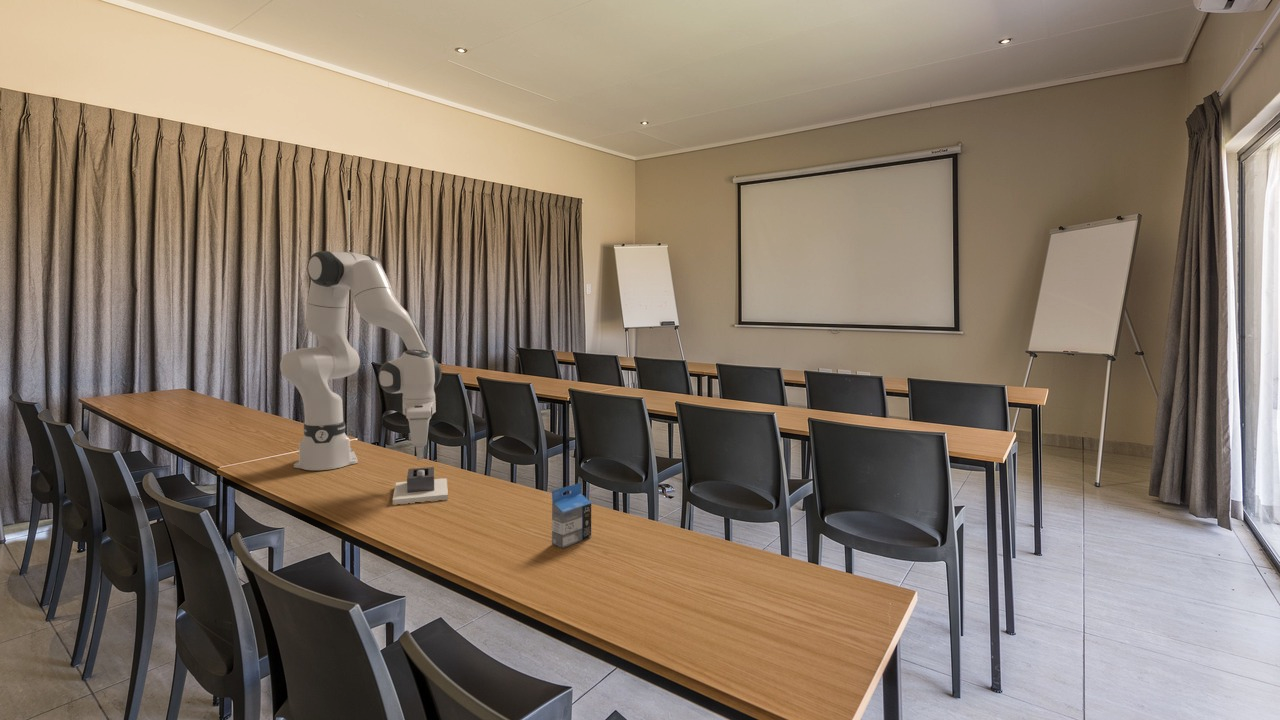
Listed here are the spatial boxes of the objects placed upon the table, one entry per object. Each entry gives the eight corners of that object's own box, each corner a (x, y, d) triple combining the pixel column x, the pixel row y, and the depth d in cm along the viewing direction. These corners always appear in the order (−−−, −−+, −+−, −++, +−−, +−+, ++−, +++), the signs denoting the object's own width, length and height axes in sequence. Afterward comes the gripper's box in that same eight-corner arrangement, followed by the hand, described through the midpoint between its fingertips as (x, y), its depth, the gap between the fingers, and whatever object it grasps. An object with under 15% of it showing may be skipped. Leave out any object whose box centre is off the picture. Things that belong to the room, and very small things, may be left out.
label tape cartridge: (562, 549, 133) (562, 494, 132) (551, 544, 135) (550, 491, 134) (592, 537, 139) (592, 485, 138) (580, 533, 142) (580, 482, 141)
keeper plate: (396, 487, 175) (395, 465, 175) (446, 483, 180) (446, 461, 179) (392, 505, 160) (392, 481, 160) (448, 499, 165) (447, 476, 164)
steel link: (408, 482, 175) (408, 468, 175) (434, 480, 177) (433, 466, 177) (407, 492, 166) (406, 478, 165) (434, 490, 168) (433, 476, 168)
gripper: (408, 401, 180) (410, 447, 182) (405, 414, 161) (407, 464, 163) (431, 400, 182) (432, 445, 184) (430, 412, 163) (432, 462, 165)
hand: (420, 454), depth 173 cm, fingers open, 8 cm apart
